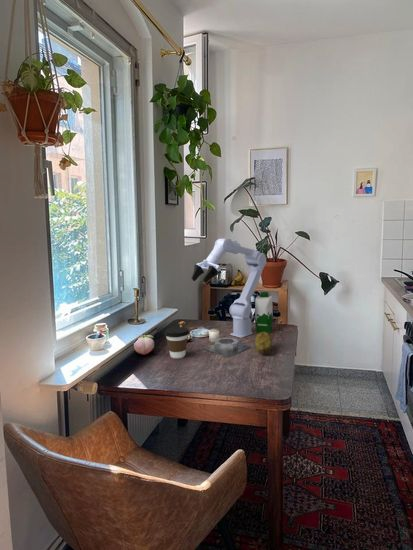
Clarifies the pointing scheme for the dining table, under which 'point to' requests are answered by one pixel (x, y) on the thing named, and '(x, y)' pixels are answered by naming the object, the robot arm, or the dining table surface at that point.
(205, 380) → the dining table surface
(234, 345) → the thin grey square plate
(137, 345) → the decorative fruit
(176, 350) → the coffee cup
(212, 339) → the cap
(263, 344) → the yellow oval piece
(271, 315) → the milk carton
